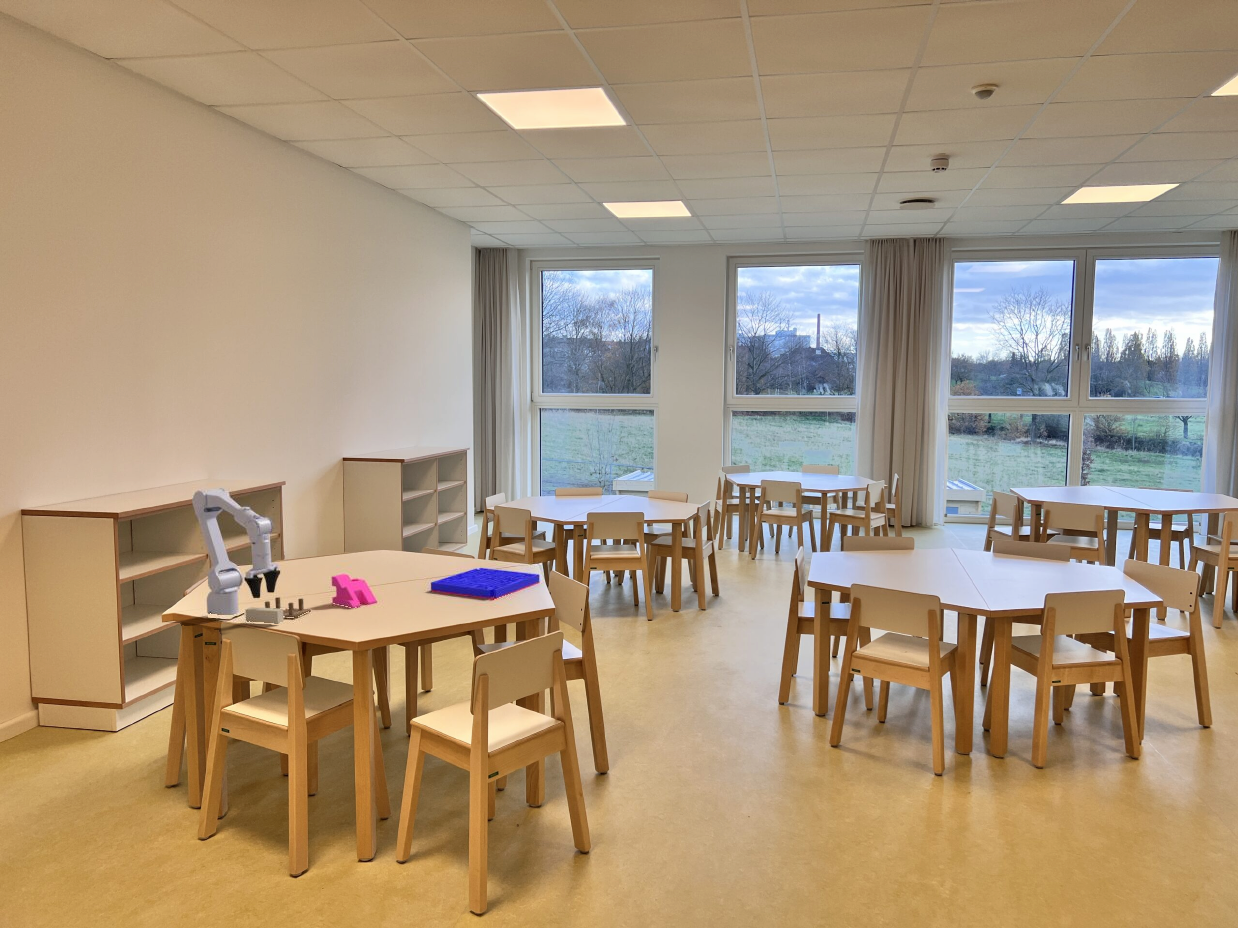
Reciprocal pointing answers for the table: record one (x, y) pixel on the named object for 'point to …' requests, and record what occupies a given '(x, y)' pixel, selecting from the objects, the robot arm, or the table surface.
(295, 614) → the rack
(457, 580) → the maze
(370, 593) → the bracket
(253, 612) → the beige rectangular block
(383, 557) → the table surface
